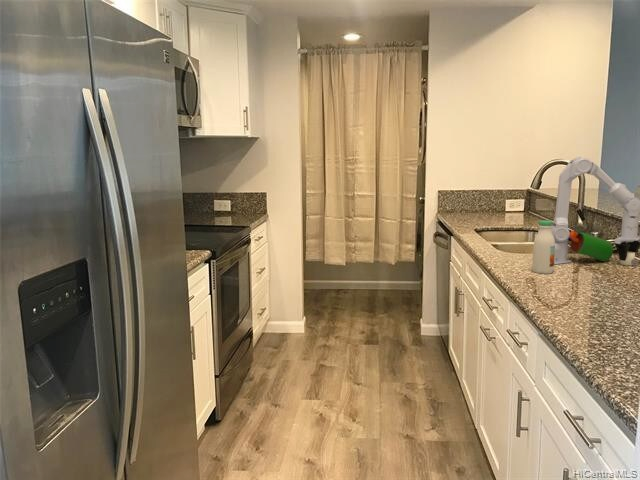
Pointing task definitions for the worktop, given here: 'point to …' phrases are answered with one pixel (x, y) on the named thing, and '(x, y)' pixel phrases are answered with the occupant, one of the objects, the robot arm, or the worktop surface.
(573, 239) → the green vase with flowers
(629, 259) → the cream capsule with tab
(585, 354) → the worktop surface
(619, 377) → the worktop surface
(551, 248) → the milk bottle
